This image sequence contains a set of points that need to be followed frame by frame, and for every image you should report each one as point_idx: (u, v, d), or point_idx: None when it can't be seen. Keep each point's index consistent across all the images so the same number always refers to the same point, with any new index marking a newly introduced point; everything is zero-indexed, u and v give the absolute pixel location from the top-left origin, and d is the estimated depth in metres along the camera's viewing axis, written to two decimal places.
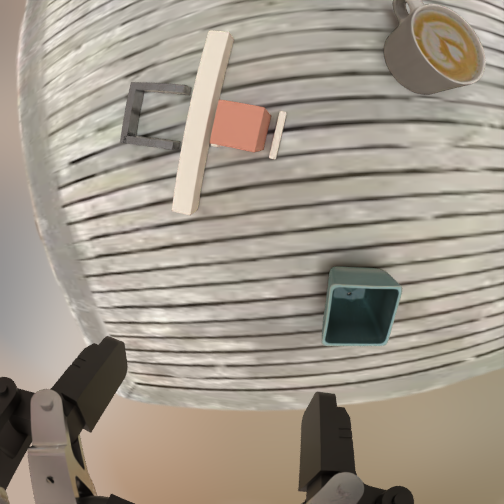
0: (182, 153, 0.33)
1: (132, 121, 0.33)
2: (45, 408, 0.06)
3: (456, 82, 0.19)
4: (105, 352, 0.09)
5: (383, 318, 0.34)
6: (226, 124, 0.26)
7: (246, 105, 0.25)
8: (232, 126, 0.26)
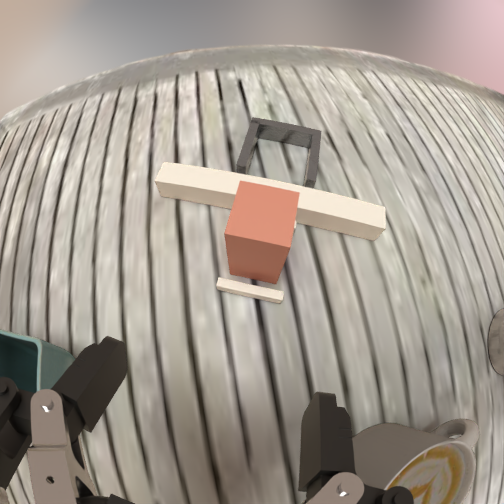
0: (230, 174, 0.28)
1: (275, 131, 0.33)
2: (45, 408, 0.06)
3: None
4: (105, 352, 0.09)
5: None
6: (265, 199, 0.20)
7: (292, 224, 0.20)
8: (262, 206, 0.20)
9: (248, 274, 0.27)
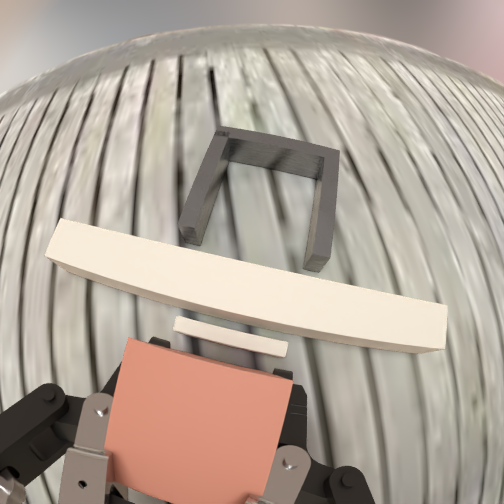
0: (161, 247, 0.14)
1: (257, 150, 0.19)
2: (101, 413, 0.07)
3: None
4: None
5: None
6: (192, 405, 0.06)
7: (263, 474, 0.06)
8: (183, 425, 0.06)
9: None
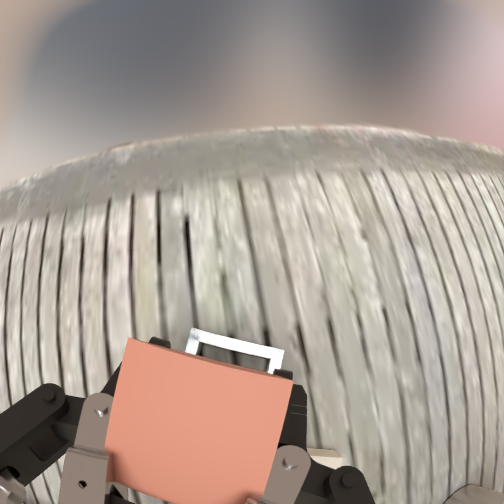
0: None
1: (221, 347, 0.25)
2: (101, 413, 0.07)
3: None
4: None
5: None
6: (192, 405, 0.06)
7: (264, 474, 0.06)
8: (183, 425, 0.06)
9: None
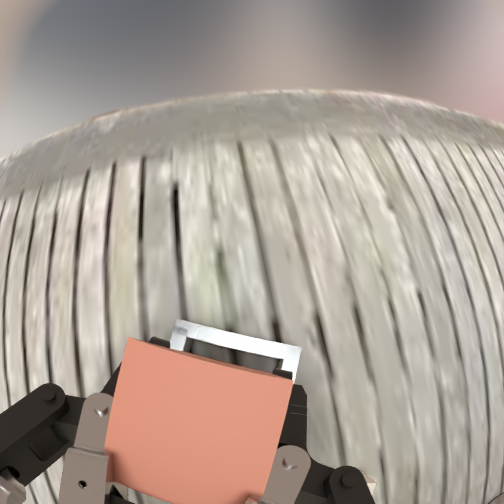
0: None
1: (217, 344, 0.19)
2: (101, 413, 0.07)
3: None
4: None
5: None
6: (193, 405, 0.06)
7: (264, 474, 0.06)
8: (183, 425, 0.06)
9: None
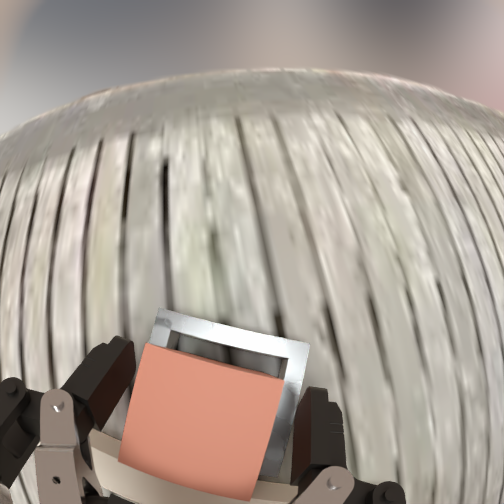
0: (116, 462, 0.11)
1: (208, 340, 0.15)
2: (56, 408, 0.06)
3: None
4: (115, 351, 0.09)
5: None
6: (200, 400, 0.08)
7: (258, 459, 0.07)
8: (191, 416, 0.08)
9: None
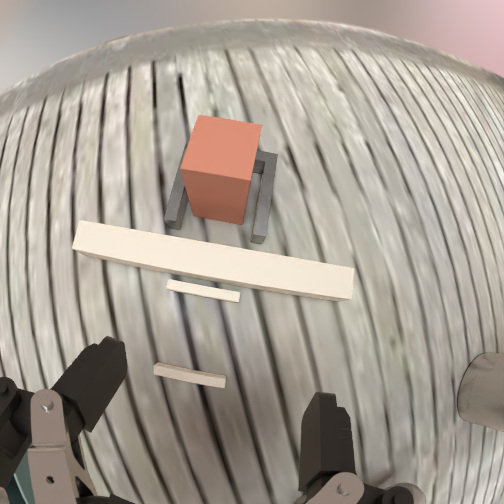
0: (155, 236, 0.22)
1: None
2: (45, 408, 0.06)
3: None
4: (105, 352, 0.09)
5: None
6: (224, 133, 0.18)
7: (253, 157, 0.18)
8: (220, 139, 0.18)
9: (212, 215, 0.25)
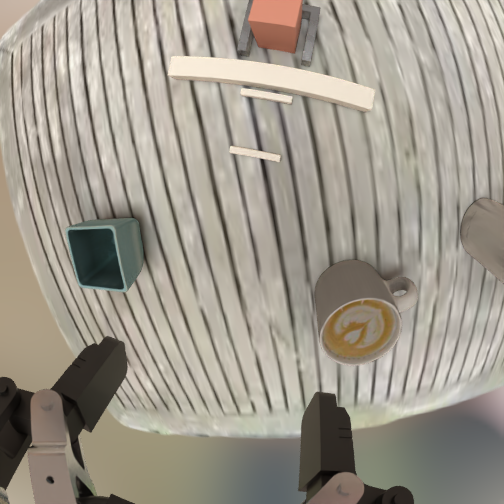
0: (231, 61, 0.27)
1: None
2: (45, 408, 0.06)
3: (320, 335, 0.31)
4: (105, 352, 0.09)
5: (100, 278, 0.36)
6: None
7: (296, 13, 0.19)
8: (274, 2, 0.19)
9: (272, 46, 0.27)
